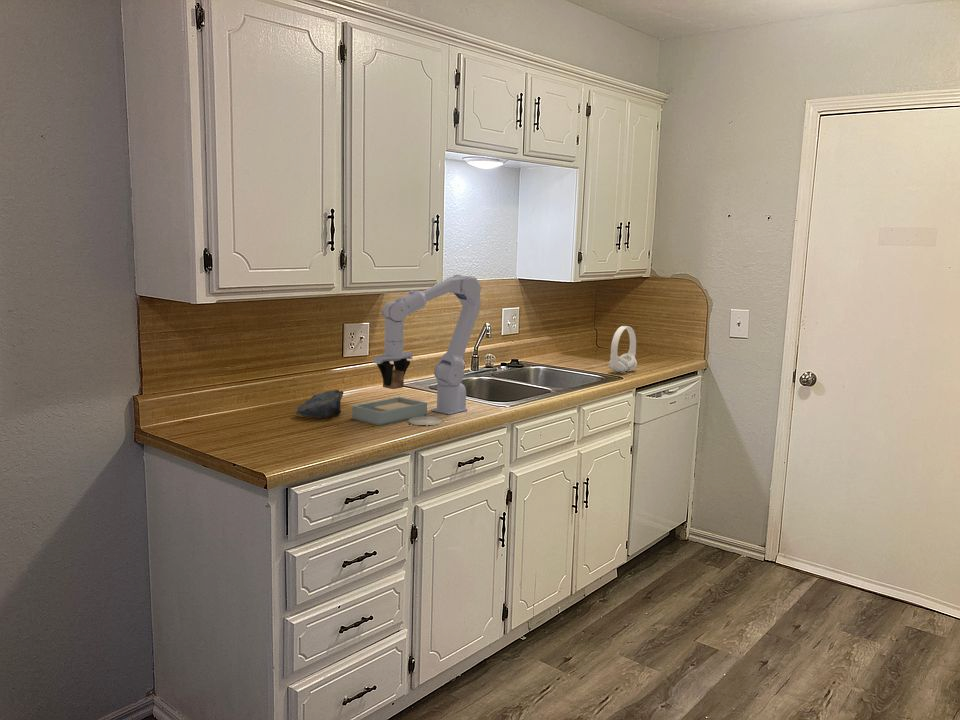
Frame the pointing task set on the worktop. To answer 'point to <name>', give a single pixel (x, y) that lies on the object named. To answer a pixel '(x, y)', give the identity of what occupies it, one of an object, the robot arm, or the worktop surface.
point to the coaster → (425, 420)
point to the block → (396, 380)
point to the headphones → (625, 360)
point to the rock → (322, 405)
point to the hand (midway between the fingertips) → (393, 384)
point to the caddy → (389, 410)
